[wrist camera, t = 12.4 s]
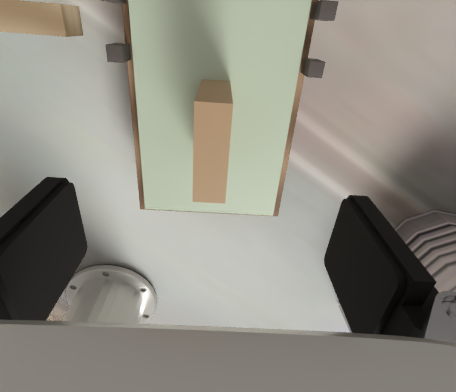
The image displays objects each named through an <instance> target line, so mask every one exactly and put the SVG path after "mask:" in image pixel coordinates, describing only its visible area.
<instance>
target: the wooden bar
mask: <svg viewBox="0 0 456 392" xmlns="http://www.w3.org/2000/svg"><path fill="white" fill-rule="evenodd" d="M0 31H1V32H14V33H26V34H39V35H51V36H64V37H69V36H82V35H83V31H82V25H81V18H80V12H79V6H72V5H64V4H54V3H42V2H31V1H19V0H0Z"/></svg>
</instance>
